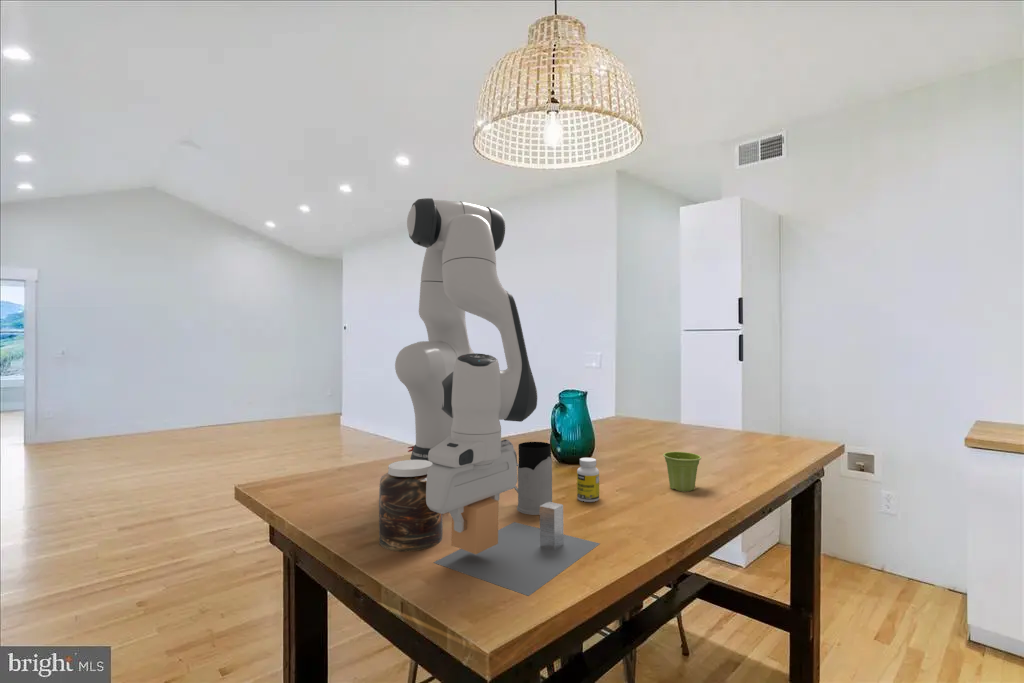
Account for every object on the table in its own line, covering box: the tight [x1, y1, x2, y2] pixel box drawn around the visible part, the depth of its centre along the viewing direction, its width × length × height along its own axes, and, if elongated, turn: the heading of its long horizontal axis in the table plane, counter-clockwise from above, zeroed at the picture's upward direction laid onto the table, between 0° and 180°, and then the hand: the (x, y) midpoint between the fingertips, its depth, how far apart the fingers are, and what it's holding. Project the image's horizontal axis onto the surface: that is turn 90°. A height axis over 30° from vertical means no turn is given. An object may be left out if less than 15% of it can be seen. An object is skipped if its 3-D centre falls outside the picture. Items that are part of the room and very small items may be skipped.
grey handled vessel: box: [513, 441, 553, 516], centre depth 117 cm, size 9×14×15 cm, turn 53°
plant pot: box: [663, 451, 702, 492], centre depth 131 cm, size 9×9×9 cm
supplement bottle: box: [576, 457, 600, 503], centre depth 123 cm, size 5×5×10 cm
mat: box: [433, 521, 601, 597], centre depth 91 cm, size 20×24×1 cm
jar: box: [378, 459, 443, 552], centre depth 98 cm, size 12×12×15 cm
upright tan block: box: [450, 498, 500, 554], centre depth 88 cm, size 6×6×8 cm
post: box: [539, 501, 564, 550], centre depth 94 cm, size 3×3×8 cm
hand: (474, 524), depth 88 cm, fingers closed on upright tan block, 6 cm apart
